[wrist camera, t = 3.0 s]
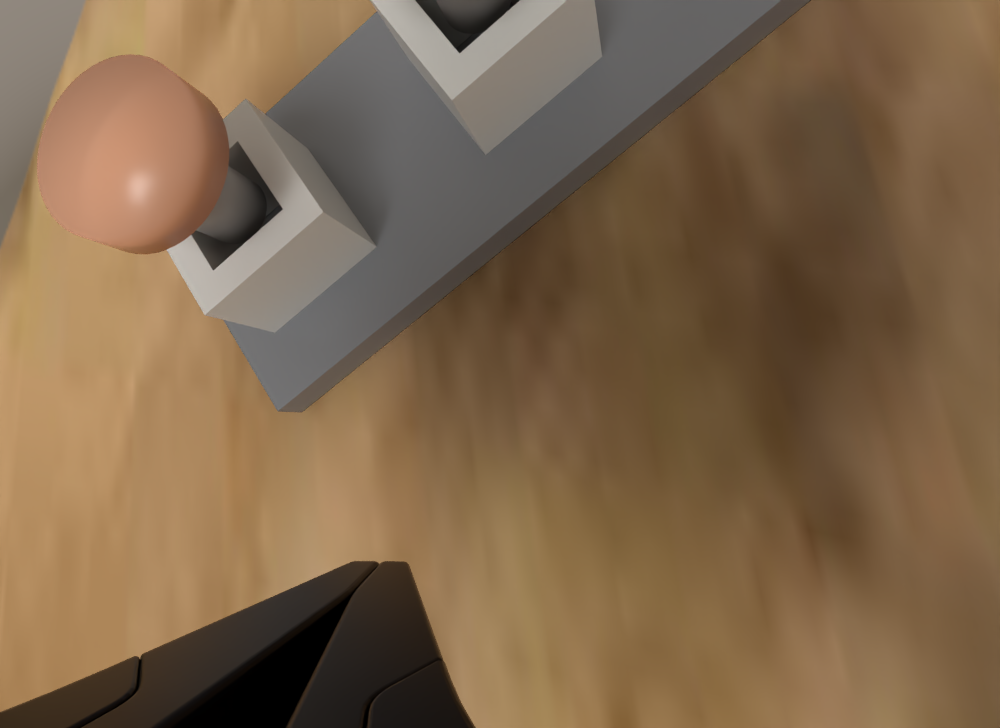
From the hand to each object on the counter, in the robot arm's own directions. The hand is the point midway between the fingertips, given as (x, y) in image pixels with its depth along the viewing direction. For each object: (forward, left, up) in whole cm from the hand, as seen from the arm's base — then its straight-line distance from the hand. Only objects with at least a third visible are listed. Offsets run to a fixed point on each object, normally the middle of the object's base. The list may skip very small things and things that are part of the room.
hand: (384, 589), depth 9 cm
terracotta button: (+10, -9, -7) cm, 15 cm away
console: (+2, -15, -12) cm, 19 cm away
